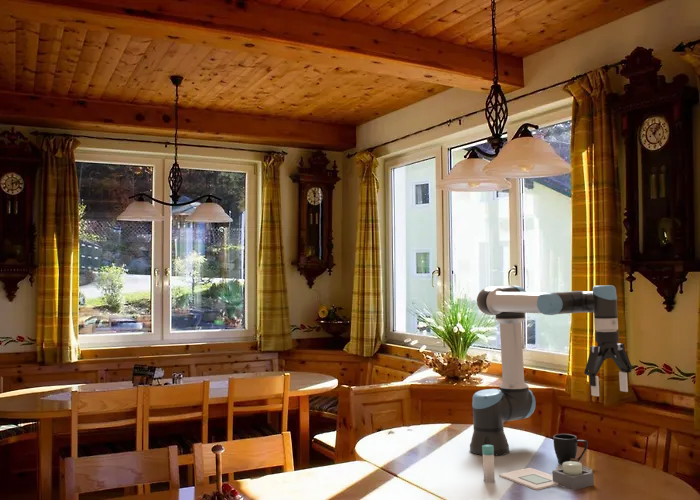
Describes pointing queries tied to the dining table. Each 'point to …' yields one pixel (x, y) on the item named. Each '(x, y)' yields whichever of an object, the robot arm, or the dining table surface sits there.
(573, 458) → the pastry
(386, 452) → the dining table surface
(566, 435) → the mug
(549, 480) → the sheet
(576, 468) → the button
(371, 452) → the dining table surface
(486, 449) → the marker
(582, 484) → the button housing
